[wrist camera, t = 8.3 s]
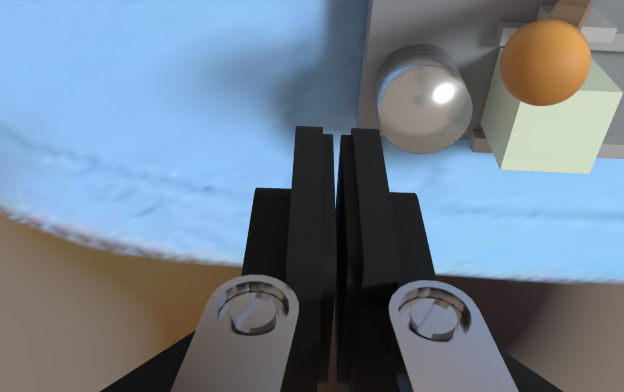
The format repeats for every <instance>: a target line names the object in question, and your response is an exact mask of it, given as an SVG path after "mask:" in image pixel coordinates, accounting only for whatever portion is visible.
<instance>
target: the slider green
mask: <svg viewBox="0 0 624 392" xmlns="http://www.w3.org/2000/svg"><path fill="white" fill-rule="evenodd" d="M503 49H504V48H500V49H499V53H498V57H497V61H496V65H495V69H494V72H493V76H492V80H491V84H490V88H489V92H488V96H487V100H486V103H485V107H484V111H483V115H482V119H481V123H480V125H481V127H482V129H483V131H484V134H485V136H486V138H487V141H488V143H489V145H490V147H491V150H492V152H493V154H494V157H495V159H496V161H497V164H498V166H499V168H500V170H518V171H541V172H563V173H586V174H590V171H591V169H592V166H593V164H594V162H595V159H596V157H597V154H598V152H599V150H600V147H601V145H602V142H603V140H604V138H605V135H606V133H607V131H608V128H609V126H610V123H611V121H612V119H613V116H614V114H615V111H616V109H617V107H618V104H619V102H620V99H621V97H622V95H623V92H622V90H621V89H620V88H619V87H618V86H617V85H616V84H615V83H614V82H613V80H612V79H611V78H610V77H609V76H608V75H607V74H606V73H605V72H604V71H603V69H602V68H601V67H600V66H599V65H598V64H597V63H596V62H595V61H594V59H593V58H592V57H591V67H590V71H589V74H588V77H587V79H586V81H585V82H584V84H583V85H582V87H581V88H580V89H579V90H578V91H577V92H576V93H575V94H574V95H573V96H571V97H570V98H568V99H567V100H565V101H563V102H560V103H558V104H554V105H550V106H533V105H529V104H526V103H523V102H521V101H519V100H518V99H516V98H515V97H514V96H512V95H511V94H510V93H509V91H508V90H507V89H506V87H505V86H504V84H503V81H502V79H501V75H500V58H501V54H502V51H503Z"/></svg>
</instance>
